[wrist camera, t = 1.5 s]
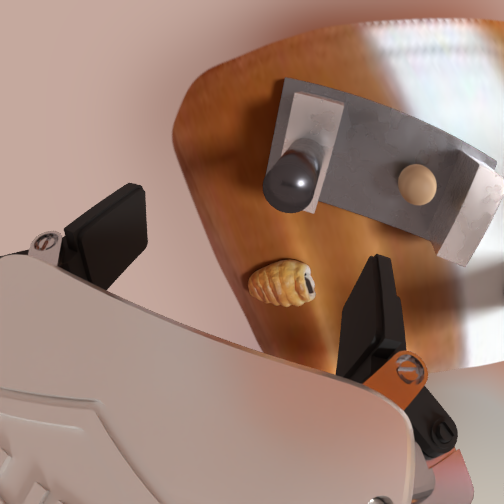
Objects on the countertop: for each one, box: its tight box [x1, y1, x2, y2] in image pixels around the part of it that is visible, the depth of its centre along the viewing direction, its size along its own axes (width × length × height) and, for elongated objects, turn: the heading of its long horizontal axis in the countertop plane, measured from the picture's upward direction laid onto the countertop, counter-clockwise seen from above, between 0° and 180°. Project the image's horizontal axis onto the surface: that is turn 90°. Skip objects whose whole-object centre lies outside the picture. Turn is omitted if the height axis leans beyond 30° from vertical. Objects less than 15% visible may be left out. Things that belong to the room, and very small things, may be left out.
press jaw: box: [263, 91, 344, 213], centre depth 21 cm, size 4×10×13 cm, turn 170°
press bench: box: [266, 77, 504, 267], centre depth 24 cm, size 24×12×6 cm, turn 80°
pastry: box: [248, 259, 316, 307], centre depth 38 cm, size 9×7×4 cm
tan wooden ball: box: [398, 164, 437, 205], centre depth 23 cm, size 4×4×4 cm
